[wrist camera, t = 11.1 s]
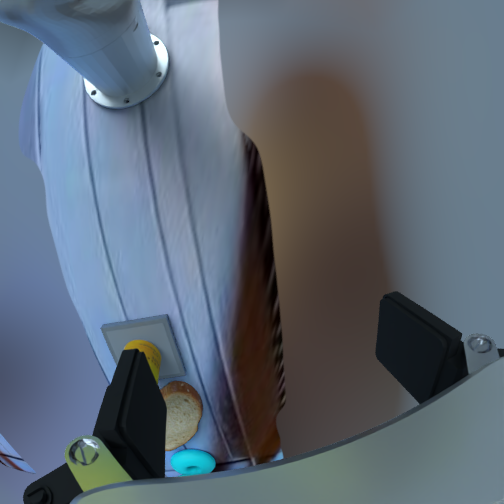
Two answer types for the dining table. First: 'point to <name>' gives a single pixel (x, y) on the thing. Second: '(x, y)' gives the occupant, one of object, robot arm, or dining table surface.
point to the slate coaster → (151, 331)
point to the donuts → (192, 462)
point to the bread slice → (181, 413)
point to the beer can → (148, 354)
